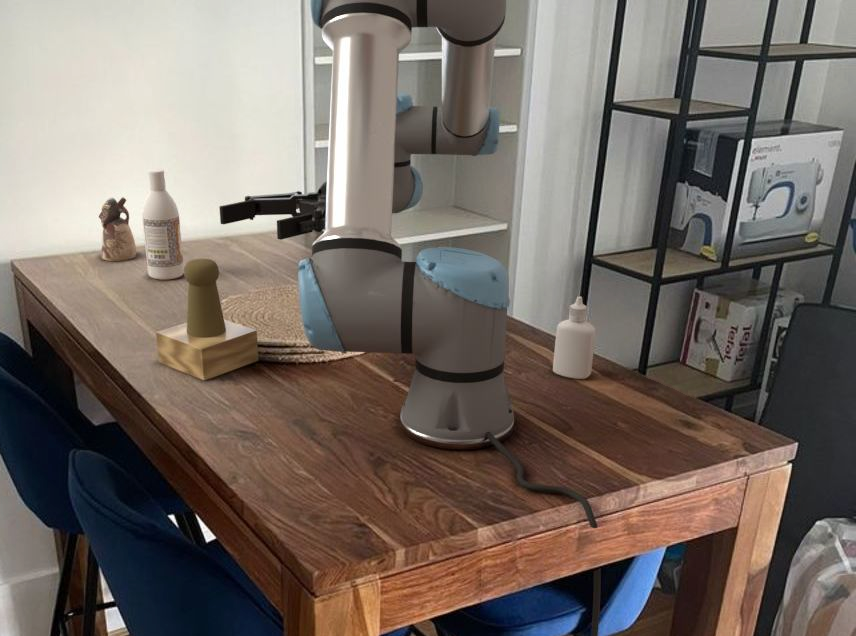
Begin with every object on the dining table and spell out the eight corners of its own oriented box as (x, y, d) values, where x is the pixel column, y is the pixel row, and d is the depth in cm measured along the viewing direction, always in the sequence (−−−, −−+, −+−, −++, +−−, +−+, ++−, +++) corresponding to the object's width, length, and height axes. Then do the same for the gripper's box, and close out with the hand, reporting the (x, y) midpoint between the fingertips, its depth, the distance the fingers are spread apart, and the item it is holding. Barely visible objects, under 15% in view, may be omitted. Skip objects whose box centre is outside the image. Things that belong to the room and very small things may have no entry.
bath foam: (185, 279, 197) (176, 173, 187) (149, 281, 196) (137, 174, 186) (183, 269, 203) (173, 165, 193) (147, 271, 202) (136, 167, 192)
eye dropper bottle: (571, 365, 156) (579, 289, 151) (595, 377, 152) (603, 300, 146) (548, 370, 155) (555, 294, 149) (571, 383, 150) (579, 304, 144)
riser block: (258, 360, 159) (256, 330, 157) (204, 380, 152) (201, 349, 150) (213, 344, 166) (210, 314, 163) (159, 362, 159) (155, 332, 156)
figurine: (103, 252, 214) (96, 194, 208) (138, 251, 215) (131, 193, 209) (100, 261, 208) (92, 202, 202) (135, 260, 208) (128, 201, 202)
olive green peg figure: (218, 338, 153) (213, 267, 148) (180, 336, 154) (174, 265, 149) (231, 325, 159) (226, 255, 153) (194, 323, 160) (188, 253, 154)
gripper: (402, 236, 162) (305, 262, 149) (298, 211, 178) (201, 233, 165) (403, 188, 159) (303, 210, 146) (296, 167, 174) (197, 185, 161)
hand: (249, 222), depth 155 cm, fingers open, 13 cm apart
